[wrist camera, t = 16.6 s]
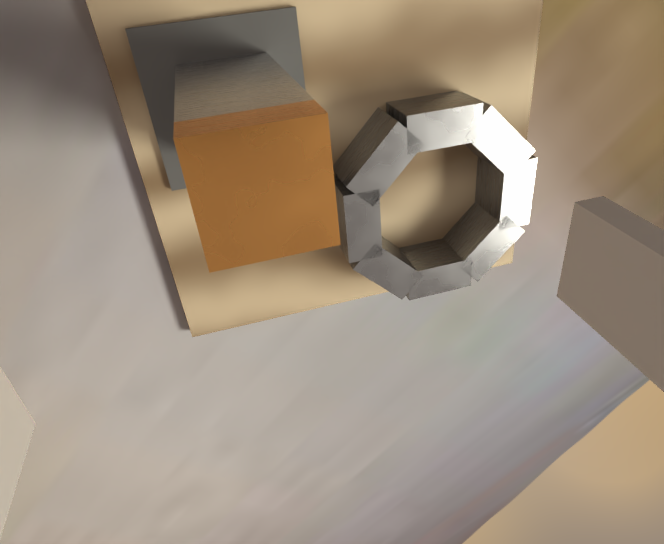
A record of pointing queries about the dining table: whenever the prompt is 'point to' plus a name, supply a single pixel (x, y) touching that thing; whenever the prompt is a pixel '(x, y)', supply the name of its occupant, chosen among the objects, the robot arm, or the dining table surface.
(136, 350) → the dining table surface
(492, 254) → the grey octagonal ring
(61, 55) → the dining table surface
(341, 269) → the board
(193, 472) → the dining table surface
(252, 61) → the block
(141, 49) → the pad
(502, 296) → the dining table surface
